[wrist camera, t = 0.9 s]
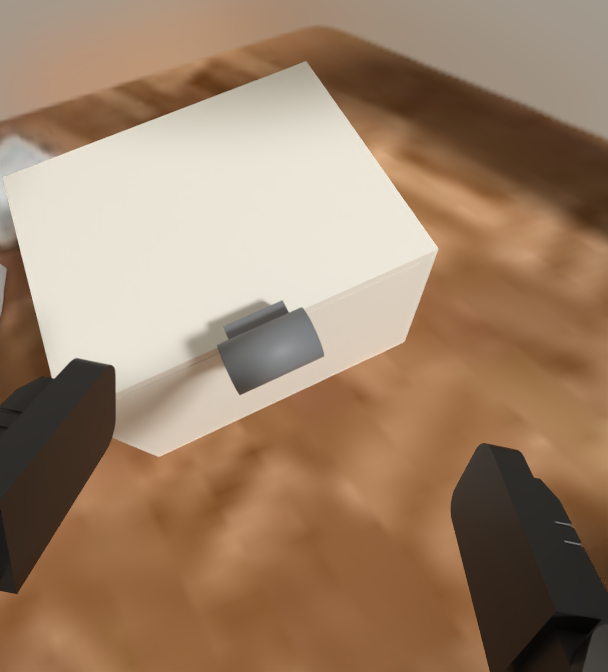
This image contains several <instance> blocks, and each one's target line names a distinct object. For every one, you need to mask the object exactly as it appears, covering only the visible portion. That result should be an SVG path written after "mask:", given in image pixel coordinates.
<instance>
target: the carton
mask: <svg viewBox="0 0 608 672" xmlns="http://www.w3.org/2000/svg"><path fill="white" fill-rule="evenodd" d="M435 257H436V256H433V257H431V258H429V259H427V260H424V261H422V262H420V263H418V264H416V265H413V266H411V267H409V268H407V269H404V270H402V271H400V272H398V273H395V274H393V275H391V276H389V277H387V278H384V279H382V280H380V281H378V282H375V283H373V284H371V285H369V286H367V287H364V288H362V289H360V290H358V291H355V292H353V293H351V294H349V295H346V296H344V297H342V298H340V299H338V300H335V301H333V302H331V303H329V304H326V305H324V306H322V307H320V308H317V309H315V310H313V311H311V312H309V313H307V315H308V316H309V318H310V320H311V322H312V324H313V326H314V328H315V330H316V332H317V335H318V337H319V340H320V342H321V345H322V348H323V351H324V357H322V358H320V359H318V360H315V361H313V362H311V363H309V364H307V365H305V366H302V367H300V368H298V369H296V370H294V371H292V372H289V373H287V374H285V375H283V376H281V377H279V378H277V379H274V380H272V381H270V382H268V383H266V384H264V385H261V386H259V387H257V388H255V389H253V390H251V391H248V392H246V393H244V394H242V395H239V394H238V392H237V390H236V389H235V387H234V385H233V383H232V381H231V379H230V377H229V375H228V372H227V370H226V368H225V366H224V363H223V361H222V359H221V356H220V354H219V353H217V354H215V355H213V356H210V357H208V358H206V359H204V360H202V361H199V362H197V363H195V364H193V365H190V366H188V367H186V368H184V369H181V370H179V371H177V372H175V373H173V374H170V375H168V376H166V377H164V378H161V379H159V380H157V381H155V382H153V383H150V384H148V385H146V386H144V387H141V388H139V389H137V390H135V391H132V392H130V393H128V394H126V395H124V396H121V397H119V398H117V399H116V423H115V429H114V433H113V436H112V438H114V439H116V440H119V441H121V442H124V443H126V444H129V445H131V446H133V447H136V448H138V449H141V450H143V451H146V452H148V453H151V454H153V455H156V456H158V457H160V456H162V455H164V454H166V453H168V452H171V451H173V450H175V449H177V448H179V447H181V446H183V445H186V444H188V443H190V442H192V441H194V440H196V439H198V438H201V437H203V436H205V435H207V434H209V433H211V432H213V431H215V430H218V429H220V428H222V427H224V426H226V425H228V424H230V423H233V422H235V421H237V420H239V419H241V418H243V417H245V416H248V415H250V414H252V413H254V412H256V411H258V410H260V409H262V408H265V407H267V406H269V405H271V404H273V403H275V402H277V401H280V400H282V399H284V398H286V397H288V396H290V395H292V394H294V393H297V392H299V391H301V390H303V389H305V388H307V387H309V386H312V385H314V384H316V383H318V382H320V381H322V380H324V379H327V378H329V377H331V376H333V375H335V374H337V373H339V372H341V371H344V370H346V369H348V368H350V367H352V366H354V365H356V364H359V363H361V362H363V361H365V360H367V359H369V358H371V357H374V356H376V355H378V354H380V353H382V352H384V351H386V350H388V349H391V348H393V347H395V346H397V345H399V344H401V343H403V342H405V339H406V336H407V334H408V331H409V328H410V325H411V323H412V320H413V317H414V315H415V312H416V309H417V306H418V304H419V301H420V298H421V295H422V293H423V290H424V287H425V284H426V282H427V279H428V276H429V273H430V271H431V268H432V265H433V262H434V260H435Z"/></svg>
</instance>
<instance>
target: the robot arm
mask: <svg viewBox="0 0 608 672" xmlns="http://www.w3.org/2000/svg"><path fill="white" fill-rule="evenodd" d="M115 423H116V374H115V368H114V366H112V365H109V364H104V363H99V362H94V361H89V360H85V359H80V358H75V359H73V360H72V361H71V362H69V364H68V365H67V366H66V367H65V368H64V369H63V370H62V371H61V372H60V373H59V374H58V375H57V376H56V377H55V378H49V377H44V376H42V377H40V378H39V379H37V380H35V381H33V382H31V383H29V384H27V385H25V386H23V387H21V388H19V389H17V390H16V391H15V392H14V393H13V394H12V395H11V396H10V397H9V398H8V399H7V400H6V401H5V402H4V403H3V404H2V405H1V406H0V591H4V592H9V593H15V594H17V593H18V591H19V590H20V588H21V587H22V585H23V583H24V582H25V580H26V579H27V577H28V575H29V574H30V572H31V571H32V569H33V567H34V566H35V564H36V563H37V561H38V559H39V558H40V556H41V554H42V553H43V551H44V550H45V548H46V546H47V545H48V543H49V542H50V540H51V538H52V537H53V535H54V534H55V532H56V530H57V529H58V527H59V526H60V524H61V522H62V521H63V519H64V517H65V516H66V514H67V513H68V511H69V509H70V508H71V506H72V505H73V503H74V501H75V500H76V498H77V497H78V495H79V493H80V492H81V490H82V489H83V487H84V485H85V484H86V482H87V480H88V479H89V477H90V476H91V474H92V472H93V471H94V469H95V468H96V466H97V464H98V463H99V461H100V460H101V458H102V456H103V455H104V453H105V452H106V450H107V448H108V446H109V444H110V442H111V439H112V436H113V433H114V429H115ZM451 518H452V522H453V526H454V530H455V534H456V538H457V542H458V546H459V550H460V554H461V558H462V562H463V566H464V570H465V574H466V578H467V582H468V586H469V590H470V594H471V598H472V602H473V606H474V610H475V614H476V618H477V622H478V626H479V630H480V634H481V638H482V642H483V646H484V650H485V654H486V658H487V662H488V666H489V670H490V672H608V593H607V591H606V589H605V588H604V586H603V584H602V582H601V580H600V578H599V576H598V574H597V572H596V570H595V568H594V566H593V564H592V562H591V560H590V558H589V556H588V555H587V553H586V551H585V549H584V548H582V547H581V541H580V539H579V537H578V535H577V533H576V531H575V529H574V528H571V522H570V520H569V518H568V516H567V514H566V512H565V510H564V508H563V506H562V504H561V502H560V500H559V499H558V498H557V497H556V496H555V495H554V494H553V493H552V491H551V490H550V489H549V488H548V487H547V486H546V485H545V484H544V483H543V482H542V480H541V479H538V478H534V477H533V475H532V473H531V471H530V469H529V467H528V465H527V462H526V460H525V458H524V456H523V455H522V453H521V452H520V451H518V450H515V449H510V448H506V447H501V446H496V445H491V444H486V443H482V444H480V445H479V446H478V447H477V449H476V450H475V452H474V454H473V456H472V458H471V460H470V462H469V463H468V465H467V467H466V469H465V471H464V473H463V475H462V476H461V478H460V480H459V482H458V484H457V486H456V488H455V490H454V492H453V496H452V500H451Z"/></svg>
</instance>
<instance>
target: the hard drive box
mask: <svg viewBox="0 0 608 672" xmlns="http://www.w3.org/2000/svg"><path fill="white" fill-rule="evenodd" d="M6 274H7V269H6V268H5V267H4V266H3V265H1V264H0V317H1V314H2V305H3V299H4V287H5V280H6Z"/></svg>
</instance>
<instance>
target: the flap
mask: <svg viewBox="0 0 608 672" xmlns="http://www.w3.org/2000/svg"><path fill="white" fill-rule="evenodd" d="M2 179H3V183H4V187H5V191H6V195H7V199H8V203H9V207H10V211H11V215H12V219H13V223H14V227H15V231H16V235H17V239H18V243H19V247H20V251H21V255H22V259H23V263H24V267H25V271H26V275H27V279H28V283H29V287H30V291H31V295H32V299H33V304H34V308H35V312H36V316H37V320H38V324H39V328H40V332H41V336H42V340H43V344H44V348H45V352H46V356H47V360H48V364H49V368H50V372H51V376H52V378H55V377H56V376H57V375H58V374H59V373H60V372H61V371H62V370H63V369H64V368H65V367H66V366H67V365H68V364H69V362H71V361H72V360H73V359H75V358H80V359H85V360H89V361H94V362H99V363H104V364H109V365H112V366H114V368H115V374H116V399H117V398H119V397H121V396H124V395H126V394H128V393H130V392H132V391H135V390H137V389H139V388H141V387H144V386H146V385H148V384H150V383H153V382H155V381H157V380H159V379H161V378H164V377H166V376H168V375H170V374H173V373H175V372H177V371H179V370H181V369H184V368H186V367H188V366H190V365H193V364H195V363H197V362H199V361H202V360H204V359H206V358H208V357H210V356H213V355H215V354H217V353H219V354H220V356H221V359H222V361H223V363H224V366H225V368H226V370H227V372H228V375H229V377H230V379H231V381H232V383H233V385H234V387H235V389H236V390H237V392H238V394H239V395H242V394H244V393H246V392H248V391H251V390H253V389H255V388H257V387H259V386H261V385H264V384H266V383H268V382H270V381H272V380H274V379H277V378H279V377H281V376H283V375H285V374H287V373H289V372H292V371H294V370H296V369H298V368H300V367H302V366H305V365H307V364H309V363H311V362H313V361H315V360H318V359H320V358H322V357H324V351H323V348H322V345H321V342H320V340H319V337H318V335H317V332H316V330H315V328H314V326H313V324H312V322H311V320H310V318H309V316H308V315H307V313H309V312H311V311H313V310H315V309H317V308H320V307H322V306H324V305H326V304H329V303H331V302H333V301H335V300H338V299H340V298H342V297H344V296H346V295H349V294H351V293H353V292H355V291H358V290H360V289H362V288H364V287H367V286H369V285H371V284H373V283H375V282H378V281H380V280H382V279H384V278H387V277H389V276H391V275H393V274H395V273H398V272H400V271H402V270H404V269H407V268H409V267H411V266H413V265H416V264H418V263H420V262H422V261H424V260H427V259H429V258H431V257H433V256H436V254H437V251H438V247H437V246H436V245H435V243H434V242H433V240H432V239H431V238H430V236H429V235H428V233H427V232H426V230H425V229H424V228H423V226H422V225H421V223H420V222H419V220H418V219H417V218H416V216H415V215H414V213H413V212H412V211H411V209H410V208H409V206H408V205H407V203H406V202H405V201H404V199H403V198H402V196H401V195H400V193H399V192H398V191H397V189H396V188H395V186H394V185H393V184H392V182H391V181H390V179H389V178H388V176H387V175H386V174H385V172H384V171H383V169H382V168H381V167H380V165H379V164H378V162H377V161H376V159H375V158H374V157H373V155H372V154H371V152H370V151H369V149H368V148H367V147H366V145H365V144H364V142H363V141H362V140H361V138H360V137H359V135H358V134H357V132H356V131H355V130H354V128H353V127H352V125H351V124H350V122H349V121H348V120H347V118H346V117H345V115H344V114H343V113H342V111H341V110H340V108H339V107H338V105H337V104H336V103H335V101H334V100H333V98H332V97H331V96H330V94H329V93H328V91H327V90H326V88H325V87H324V86H323V84H322V83H321V81H320V80H319V78H318V77H317V76H316V74H315V73H314V71H313V70H312V69H311V67H310V66H309V64H308V63H307V61H305V62H303V63H300V64H297V65H295V66H292V67H290V68H287V69H284V70H282V71H279V72H276V73H274V74H271V75H269V76H266V77H263V78H261V79H258V80H255V81H253V82H250V83H248V84H245V85H242V86H240V87H237V88H235V89H232V90H229V91H227V92H224V93H221V94H219V95H216V96H214V97H211V98H208V99H206V100H203V101H201V102H198V103H195V104H193V105H190V106H187V107H185V108H182V109H180V110H177V111H174V112H172V113H169V114H166V115H164V116H161V117H159V118H156V119H153V120H151V121H148V122H146V123H143V124H140V125H138V126H135V127H132V128H130V129H127V130H125V131H122V132H119V133H117V134H114V135H112V136H109V137H106V138H104V139H101V140H98V141H96V142H93V143H91V144H88V145H85V146H83V147H80V148H77V149H75V150H72V151H70V152H67V153H64V154H62V155H59V156H57V157H54V158H51V159H49V160H46V161H43V162H41V163H38V164H36V165H33V166H30V167H28V168H25V169H23V170H20V171H17V172H15V173H12V174H9V175H7V176H4V177H2Z"/></svg>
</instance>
